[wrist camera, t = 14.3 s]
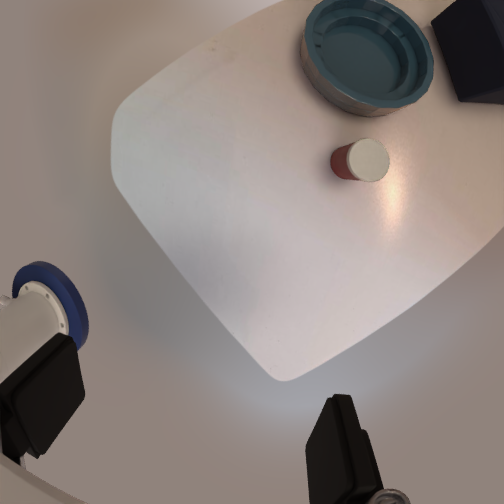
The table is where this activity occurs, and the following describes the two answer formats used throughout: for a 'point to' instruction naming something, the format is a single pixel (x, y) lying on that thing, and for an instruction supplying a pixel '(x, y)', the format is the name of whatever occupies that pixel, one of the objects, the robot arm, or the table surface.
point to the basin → (366, 56)
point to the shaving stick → (361, 161)
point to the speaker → (474, 48)
